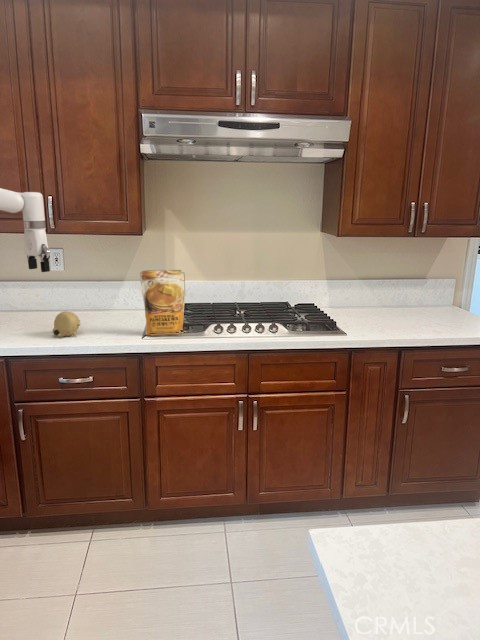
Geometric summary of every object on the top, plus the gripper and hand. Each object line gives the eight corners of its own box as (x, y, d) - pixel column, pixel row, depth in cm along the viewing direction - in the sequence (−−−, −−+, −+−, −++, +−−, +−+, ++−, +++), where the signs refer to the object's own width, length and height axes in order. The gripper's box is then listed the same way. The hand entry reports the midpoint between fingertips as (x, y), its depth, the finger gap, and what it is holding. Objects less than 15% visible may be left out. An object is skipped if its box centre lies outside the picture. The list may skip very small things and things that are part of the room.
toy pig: (67, 340, 204) (46, 325, 200) (85, 319, 204) (65, 304, 200) (66, 346, 195) (45, 331, 191) (85, 324, 195) (64, 309, 191)
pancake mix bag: (142, 332, 205) (139, 269, 198) (185, 330, 209) (184, 268, 201) (142, 337, 199) (139, 272, 191) (187, 335, 202) (186, 271, 195)
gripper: (14, 224, 179) (19, 268, 184) (36, 227, 169) (41, 274, 173) (33, 224, 185) (37, 266, 189) (55, 226, 174) (59, 271, 179)
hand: (39, 270), depth 181 cm, fingers open, 9 cm apart
